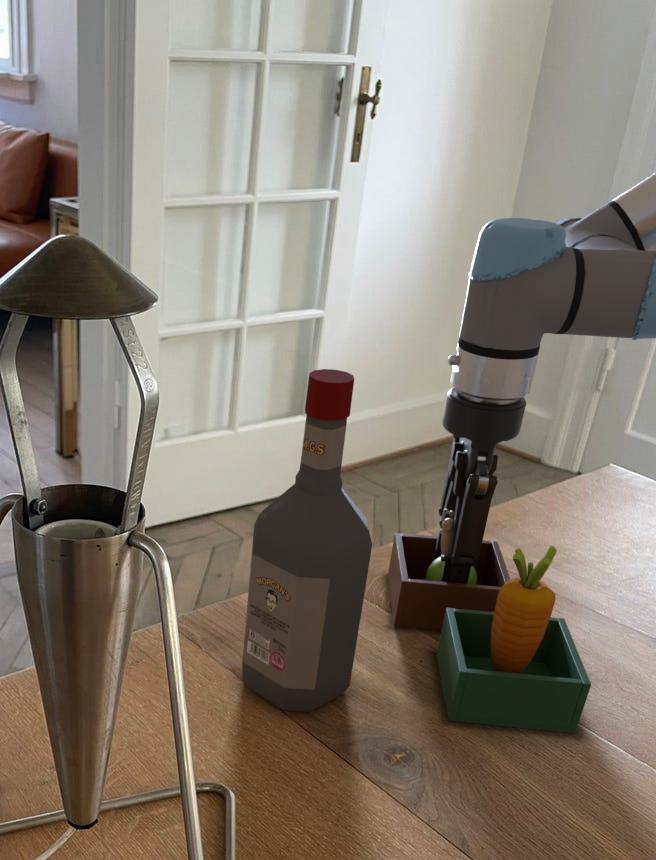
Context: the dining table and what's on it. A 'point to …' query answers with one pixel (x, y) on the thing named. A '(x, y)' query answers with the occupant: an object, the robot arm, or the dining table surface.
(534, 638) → the carrot
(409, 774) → the dining table surface
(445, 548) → the snail figurine
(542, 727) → the green bin
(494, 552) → the brown bin
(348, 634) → the liquor
